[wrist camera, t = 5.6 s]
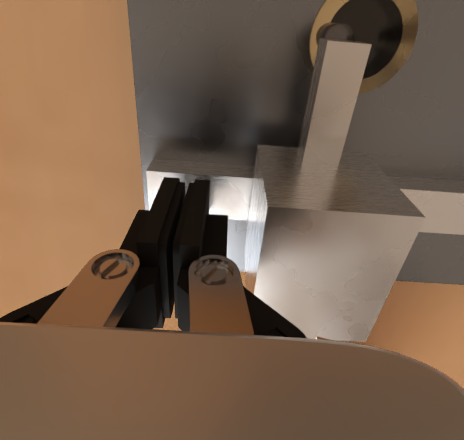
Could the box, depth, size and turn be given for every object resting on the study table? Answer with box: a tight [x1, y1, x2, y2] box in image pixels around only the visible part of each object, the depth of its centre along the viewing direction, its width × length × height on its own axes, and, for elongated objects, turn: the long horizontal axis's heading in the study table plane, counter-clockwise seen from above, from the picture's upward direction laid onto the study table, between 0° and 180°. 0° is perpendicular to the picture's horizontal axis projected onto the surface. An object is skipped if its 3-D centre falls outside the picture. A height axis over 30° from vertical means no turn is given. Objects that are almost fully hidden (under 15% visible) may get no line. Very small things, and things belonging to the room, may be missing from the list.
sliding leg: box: [244, 22, 426, 342], centre depth 11 cm, size 4×9×5 cm, turn 176°
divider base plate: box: [127, 0, 464, 285], centre depth 12 cm, size 22×14×7 cm, turn 86°
